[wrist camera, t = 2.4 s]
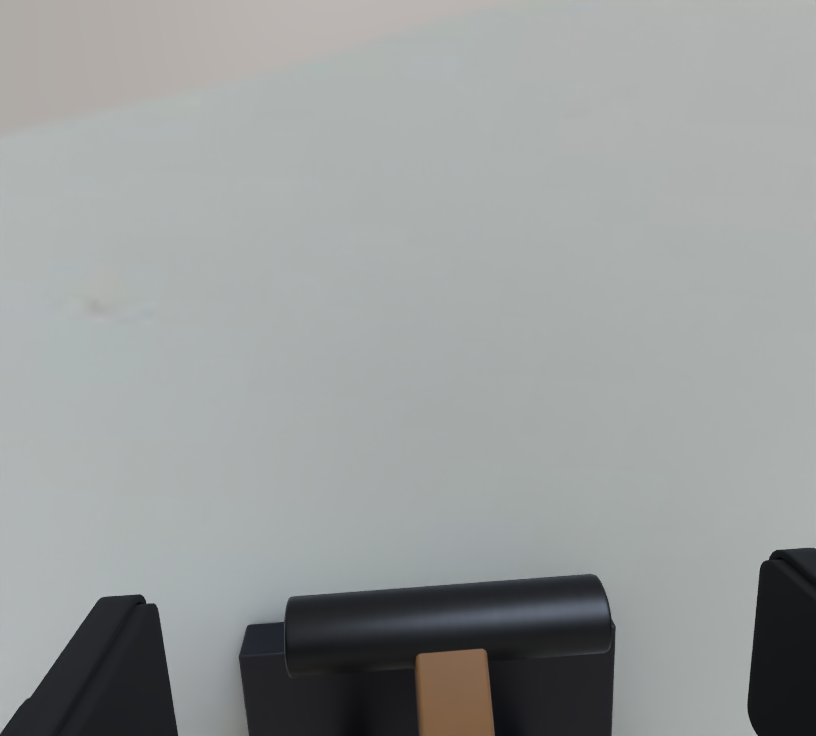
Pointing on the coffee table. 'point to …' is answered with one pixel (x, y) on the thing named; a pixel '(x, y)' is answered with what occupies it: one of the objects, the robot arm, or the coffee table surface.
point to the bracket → (396, 695)
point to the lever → (447, 638)
